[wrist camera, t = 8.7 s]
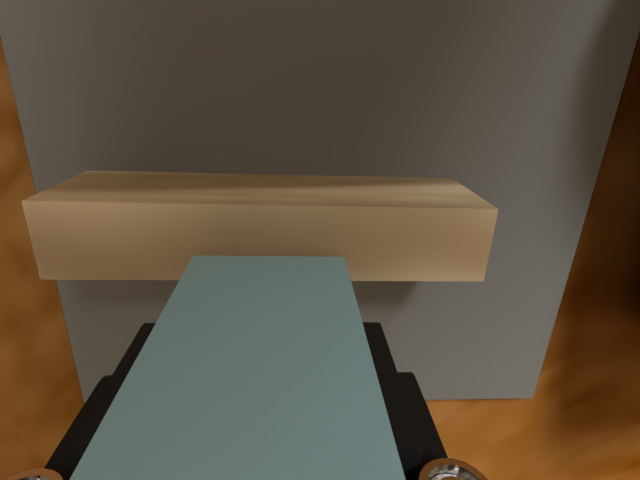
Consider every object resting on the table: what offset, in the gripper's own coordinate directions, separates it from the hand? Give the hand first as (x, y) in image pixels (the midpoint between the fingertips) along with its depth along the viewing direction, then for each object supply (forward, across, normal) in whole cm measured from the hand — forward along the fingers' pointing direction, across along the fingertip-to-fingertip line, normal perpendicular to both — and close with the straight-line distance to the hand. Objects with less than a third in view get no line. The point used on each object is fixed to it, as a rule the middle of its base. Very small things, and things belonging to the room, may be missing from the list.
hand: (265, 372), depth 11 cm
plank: (+8, 0, -2) cm, 8 cm away
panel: (+8, -2, -1) cm, 8 cm away
